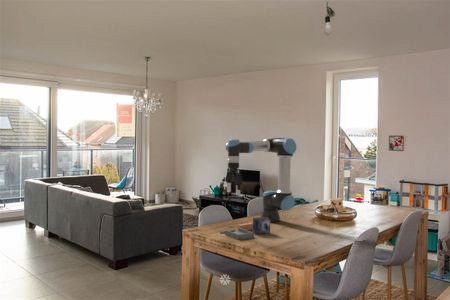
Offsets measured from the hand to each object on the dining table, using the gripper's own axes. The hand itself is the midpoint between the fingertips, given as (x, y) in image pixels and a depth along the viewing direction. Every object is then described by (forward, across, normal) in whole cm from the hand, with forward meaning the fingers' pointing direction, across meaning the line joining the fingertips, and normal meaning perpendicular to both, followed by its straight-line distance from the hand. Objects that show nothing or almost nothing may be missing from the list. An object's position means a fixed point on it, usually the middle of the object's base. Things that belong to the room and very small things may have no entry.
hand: (233, 193), depth 264 cm
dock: (+27, +7, -1) cm, 28 cm away
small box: (+27, +10, +16) cm, 33 cm away
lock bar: (+27, -2, +11) cm, 29 cm away
